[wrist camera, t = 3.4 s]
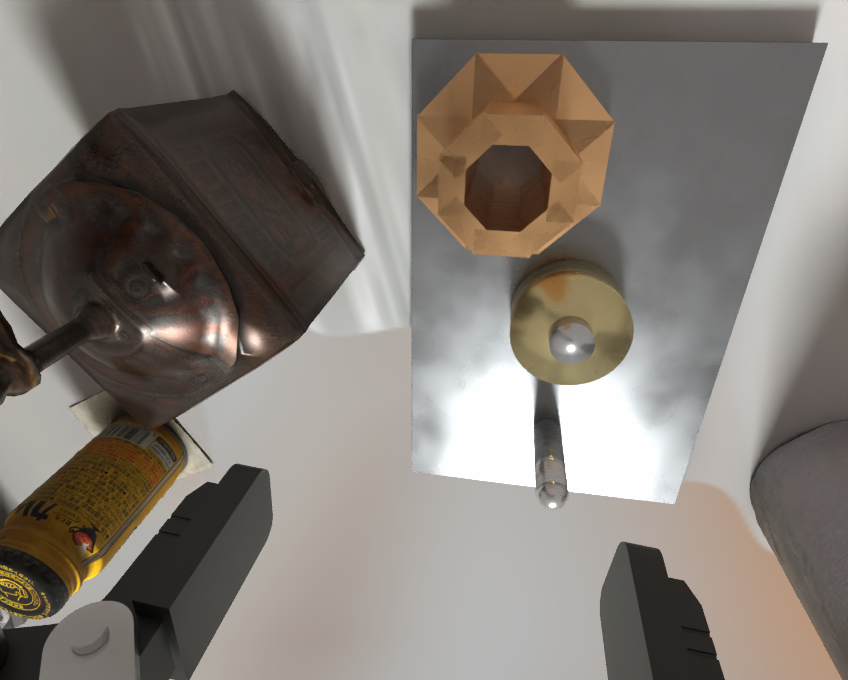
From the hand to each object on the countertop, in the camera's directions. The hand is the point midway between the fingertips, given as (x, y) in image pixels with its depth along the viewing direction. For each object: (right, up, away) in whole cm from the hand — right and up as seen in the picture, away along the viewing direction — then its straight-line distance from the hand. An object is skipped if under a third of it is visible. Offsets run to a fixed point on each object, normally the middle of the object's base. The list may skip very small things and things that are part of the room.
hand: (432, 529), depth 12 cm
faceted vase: (+4, +13, +12) cm, 17 cm away
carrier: (+7, +6, +16) cm, 18 cm away
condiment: (-21, -3, +26) cm, 33 cm away
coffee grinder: (-11, +12, +16) cm, 23 cm away
